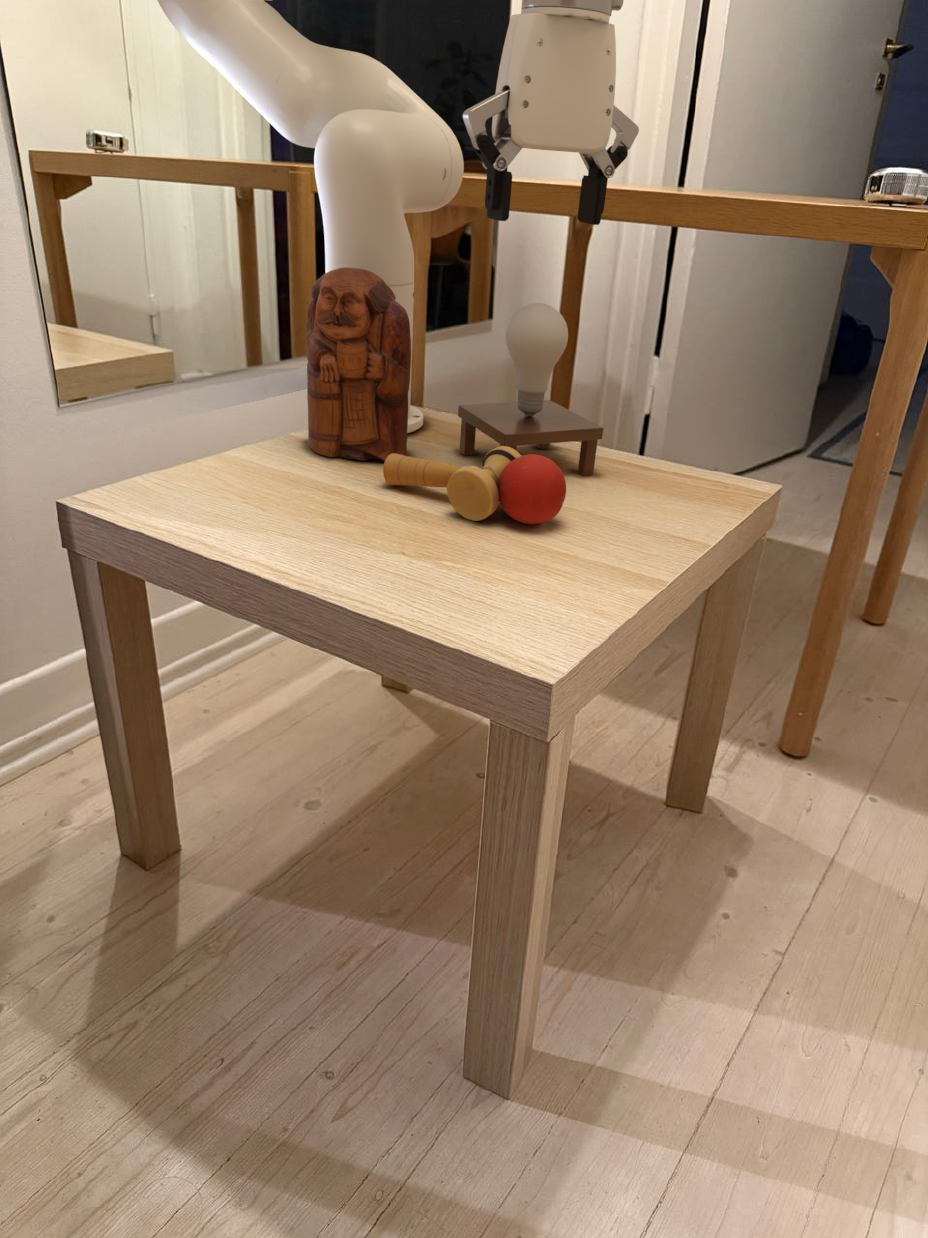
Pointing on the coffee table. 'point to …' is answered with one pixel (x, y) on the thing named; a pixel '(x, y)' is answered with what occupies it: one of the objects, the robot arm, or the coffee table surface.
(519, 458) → the kendama
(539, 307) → the lightbulb
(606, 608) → the coffee table surface
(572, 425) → the desk
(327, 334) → the wooden figurine
